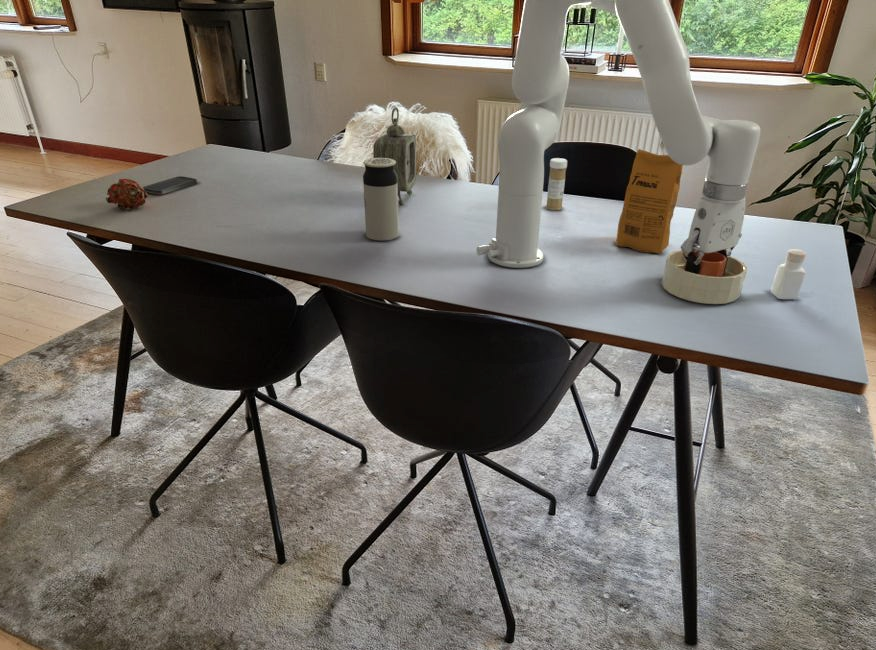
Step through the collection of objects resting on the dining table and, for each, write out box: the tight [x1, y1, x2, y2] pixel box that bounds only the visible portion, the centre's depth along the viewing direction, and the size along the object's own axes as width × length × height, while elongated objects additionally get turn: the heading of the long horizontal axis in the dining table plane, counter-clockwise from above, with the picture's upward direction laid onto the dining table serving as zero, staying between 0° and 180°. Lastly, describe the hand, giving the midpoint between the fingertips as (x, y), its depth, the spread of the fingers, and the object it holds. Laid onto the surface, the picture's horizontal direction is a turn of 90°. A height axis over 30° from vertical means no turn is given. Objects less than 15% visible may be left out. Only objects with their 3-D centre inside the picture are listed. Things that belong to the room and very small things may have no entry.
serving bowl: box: [661, 249, 748, 305], centre depth 128 cm, size 15×15×6 cm
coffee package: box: [615, 148, 684, 254], centre depth 146 cm, size 10×12×22 cm
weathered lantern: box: [372, 106, 417, 207], centre depth 174 cm, size 14×9×25 cm, turn 171°
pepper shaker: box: [770, 248, 807, 300], centre depth 125 cm, size 4×4×10 cm
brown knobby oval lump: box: [105, 178, 149, 211], centre depth 168 cm, size 8×8×12 cm
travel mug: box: [362, 157, 400, 242], centre depth 149 cm, size 8×8×18 cm
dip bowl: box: [694, 250, 727, 277], centre depth 127 cm, size 7×7×6 cm
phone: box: [141, 175, 198, 196], centre depth 187 cm, size 8×1×15 cm
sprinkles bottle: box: [545, 157, 568, 211], centre depth 172 cm, size 5×5×14 cm
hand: (703, 276), depth 128 cm, fingers closed on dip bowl, 7 cm apart
